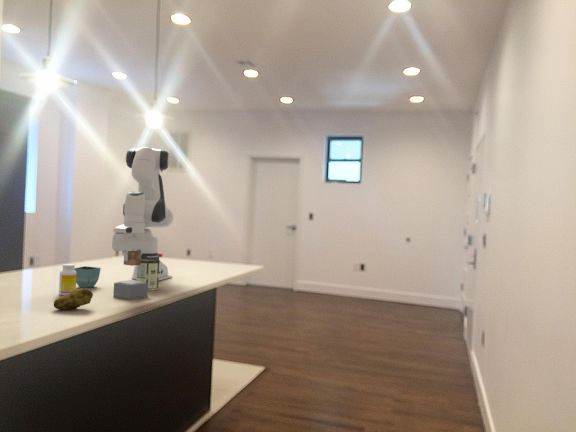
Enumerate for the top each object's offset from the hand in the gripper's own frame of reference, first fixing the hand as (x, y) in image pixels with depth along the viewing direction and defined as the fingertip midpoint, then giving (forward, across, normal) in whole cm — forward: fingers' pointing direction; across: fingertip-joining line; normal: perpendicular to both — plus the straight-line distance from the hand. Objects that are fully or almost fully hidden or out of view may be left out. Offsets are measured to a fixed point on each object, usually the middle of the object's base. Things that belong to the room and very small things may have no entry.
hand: (132, 260), depth 214 cm
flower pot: (+16, -3, -32) cm, 36 cm away
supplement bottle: (+16, +15, -22) cm, 31 cm away
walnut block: (+2, 0, 0) cm, 2 cm away
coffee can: (+16, -19, -9) cm, 27 cm away
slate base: (+16, 0, 0) cm, 16 cm away
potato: (+16, +32, +4) cm, 36 cm away
